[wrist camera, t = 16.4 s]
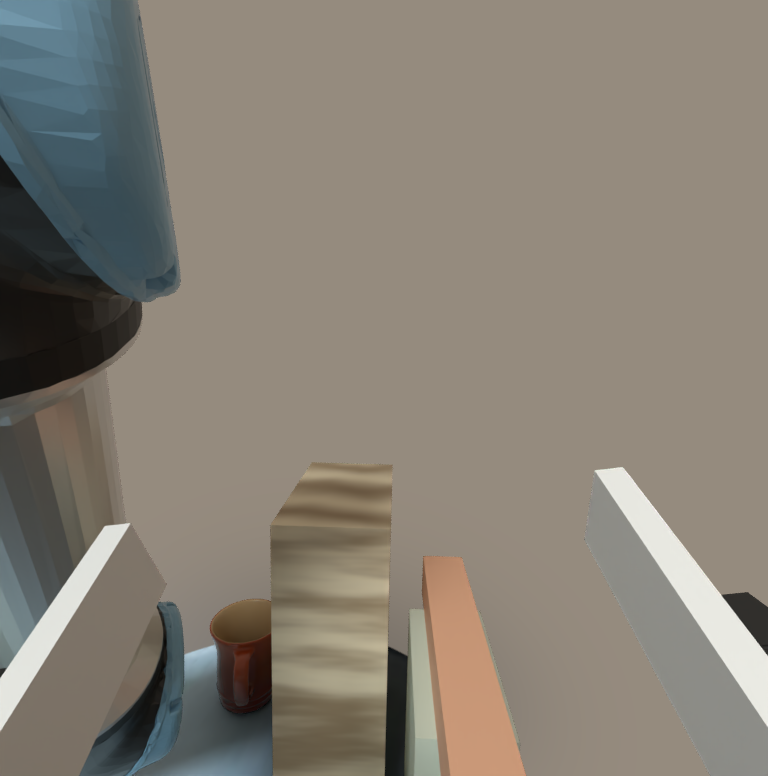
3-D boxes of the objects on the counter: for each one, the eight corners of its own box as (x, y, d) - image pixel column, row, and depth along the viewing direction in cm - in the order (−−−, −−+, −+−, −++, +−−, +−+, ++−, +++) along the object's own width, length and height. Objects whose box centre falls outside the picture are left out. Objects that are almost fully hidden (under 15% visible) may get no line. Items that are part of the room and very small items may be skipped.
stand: (382, 844, 40) (390, 529, 36) (273, 838, 40) (270, 525, 36) (386, 685, 57) (392, 464, 54) (311, 682, 58) (311, 462, 54)
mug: (218, 672, 59) (216, 601, 58) (284, 664, 61) (284, 595, 60) (199, 756, 47) (196, 669, 46) (281, 743, 49) (281, 659, 48)
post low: (504, 978, 31) (520, 743, 29) (407, 972, 32) (415, 738, 29) (471, 781, 45) (480, 611, 43) (404, 778, 45) (409, 608, 43)
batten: (557, 985, 18) (564, 904, 18) (461, 980, 18) (465, 899, 18) (459, 593, 46) (461, 557, 46) (422, 591, 46) (423, 555, 46)
